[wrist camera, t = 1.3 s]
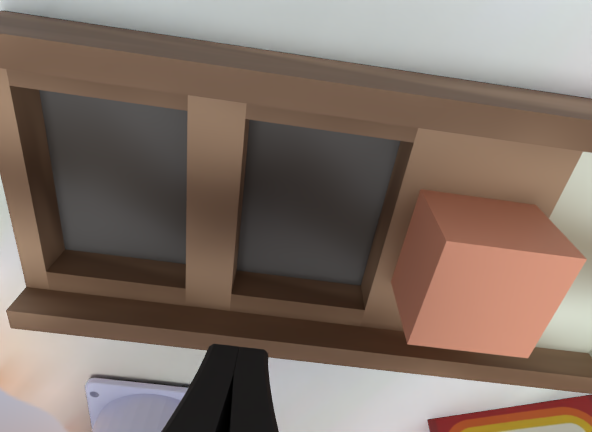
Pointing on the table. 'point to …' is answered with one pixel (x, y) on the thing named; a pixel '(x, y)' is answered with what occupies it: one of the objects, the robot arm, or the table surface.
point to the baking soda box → (523, 418)
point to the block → (481, 274)
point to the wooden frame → (266, 195)
